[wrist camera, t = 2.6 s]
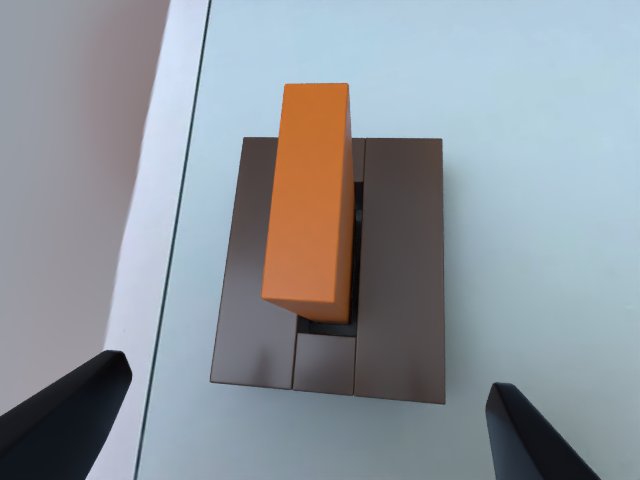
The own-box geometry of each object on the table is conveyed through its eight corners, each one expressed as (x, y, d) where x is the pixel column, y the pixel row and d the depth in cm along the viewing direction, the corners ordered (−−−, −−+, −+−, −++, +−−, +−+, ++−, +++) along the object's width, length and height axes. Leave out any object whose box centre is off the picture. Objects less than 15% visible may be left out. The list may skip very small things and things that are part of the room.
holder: (428, 173, 22) (442, 137, 18) (428, 392, 19) (445, 404, 15) (262, 170, 23) (243, 136, 19) (237, 375, 20) (208, 382, 16)
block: (356, 219, 22) (348, 82, 10) (350, 325, 20) (335, 303, 9) (325, 218, 22) (284, 82, 10) (317, 323, 20) (259, 298, 9)
